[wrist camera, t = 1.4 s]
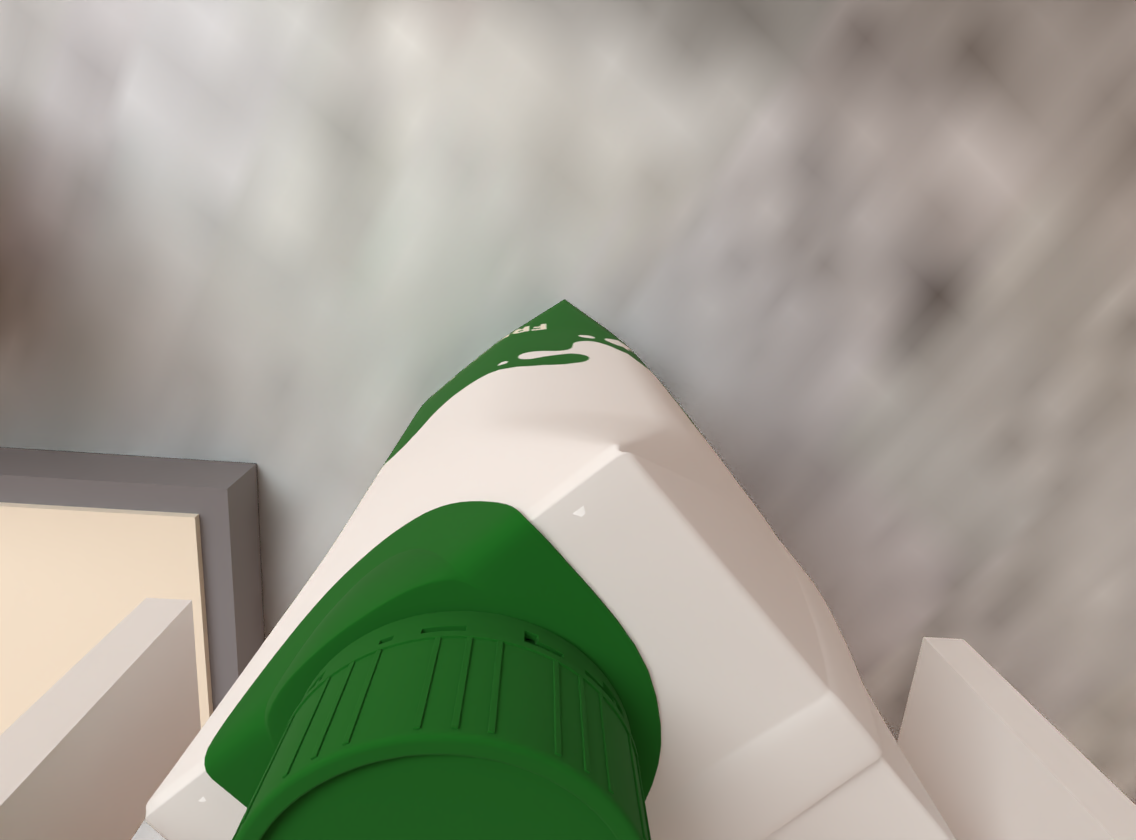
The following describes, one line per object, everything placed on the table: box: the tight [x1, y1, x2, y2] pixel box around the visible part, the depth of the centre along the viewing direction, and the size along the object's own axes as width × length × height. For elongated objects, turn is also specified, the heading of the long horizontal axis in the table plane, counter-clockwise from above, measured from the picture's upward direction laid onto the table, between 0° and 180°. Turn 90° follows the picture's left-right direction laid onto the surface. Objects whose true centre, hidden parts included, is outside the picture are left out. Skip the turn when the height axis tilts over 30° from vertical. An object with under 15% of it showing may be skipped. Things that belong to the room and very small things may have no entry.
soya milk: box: [145, 299, 956, 840], centre depth 16 cm, size 9×9×20 cm
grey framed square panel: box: [0, 447, 264, 735], centre depth 26 cm, size 14×14×3 cm
